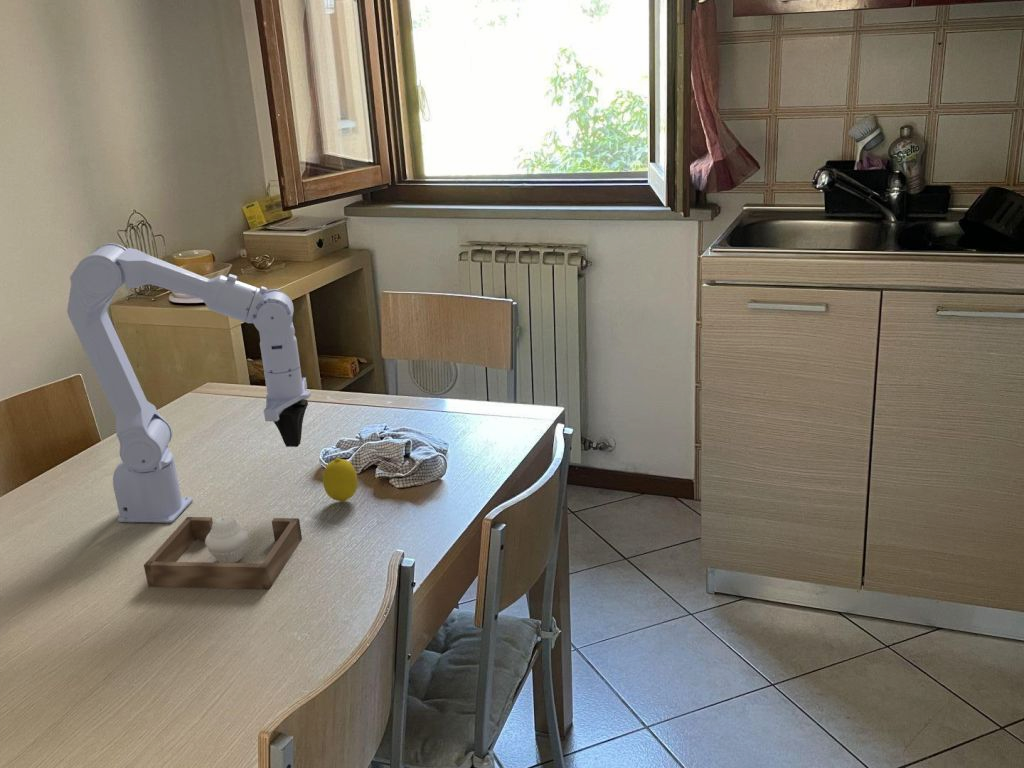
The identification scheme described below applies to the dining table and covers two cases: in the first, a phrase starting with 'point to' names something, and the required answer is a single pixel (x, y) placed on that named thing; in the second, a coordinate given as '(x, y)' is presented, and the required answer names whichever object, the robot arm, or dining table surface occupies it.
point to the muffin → (226, 540)
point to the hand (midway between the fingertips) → (293, 445)
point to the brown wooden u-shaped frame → (219, 575)
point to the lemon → (340, 480)
